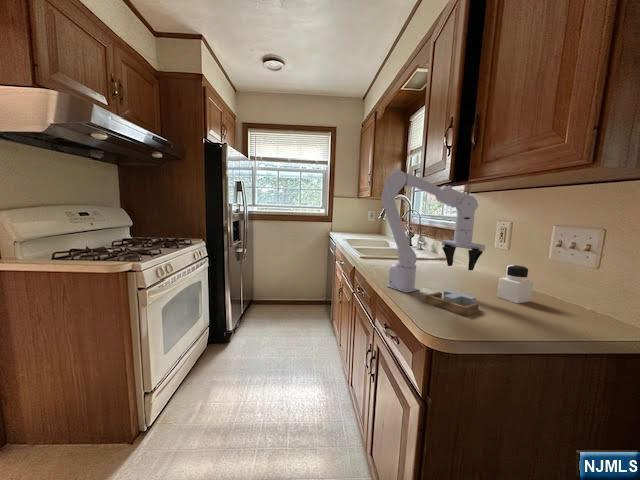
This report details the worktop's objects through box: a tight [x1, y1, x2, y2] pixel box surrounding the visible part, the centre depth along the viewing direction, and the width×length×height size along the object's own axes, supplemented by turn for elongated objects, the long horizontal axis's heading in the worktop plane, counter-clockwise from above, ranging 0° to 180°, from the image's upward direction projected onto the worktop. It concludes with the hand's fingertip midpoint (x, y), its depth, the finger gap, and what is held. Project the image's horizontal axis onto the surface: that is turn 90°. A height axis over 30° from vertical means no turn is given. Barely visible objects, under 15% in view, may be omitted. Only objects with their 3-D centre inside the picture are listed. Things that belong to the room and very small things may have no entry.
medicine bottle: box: [496, 264, 534, 304], centre depth 95 cm, size 7×7×12 cm
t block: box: [442, 289, 477, 306], centre depth 87 cm, size 9×8×4 cm
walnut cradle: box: [425, 291, 480, 317], centre depth 86 cm, size 13×7×2 cm, turn 34°
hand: (460, 267), depth 98 cm, fingers open, 7 cm apart
